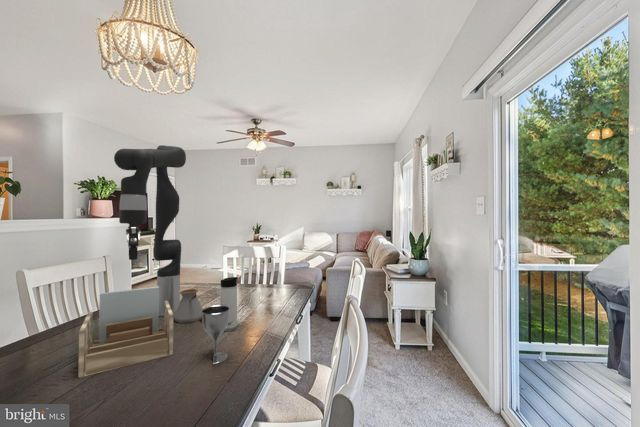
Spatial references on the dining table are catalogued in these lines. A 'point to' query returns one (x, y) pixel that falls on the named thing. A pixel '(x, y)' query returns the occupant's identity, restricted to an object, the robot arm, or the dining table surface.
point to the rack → (123, 347)
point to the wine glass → (216, 327)
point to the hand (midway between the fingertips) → (132, 258)
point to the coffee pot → (188, 307)
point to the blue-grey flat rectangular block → (128, 308)
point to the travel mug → (229, 300)
